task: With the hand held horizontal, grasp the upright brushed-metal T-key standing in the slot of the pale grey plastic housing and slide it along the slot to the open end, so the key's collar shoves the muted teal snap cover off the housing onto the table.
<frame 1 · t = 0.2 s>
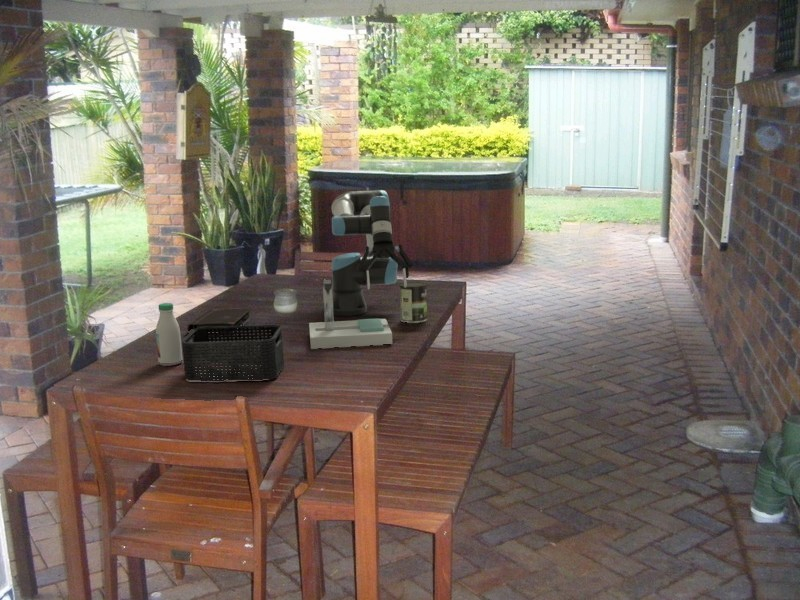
hand: (387, 287, 336), 15 cm above the table, tool tilted 35°, fingers open, 13 cm apart
coffee can: (414, 320, 349), on the table
snap cover: (370, 326, 324), point 4 cm above the table, touching housing
storage bin: (235, 374, 286), on the table
housing: (349, 338, 324), on the table
diary: (222, 328, 348), on the table
t key: (328, 309, 321), point 11 cm above the table, slide at 0.0 cm
milk bottle: (170, 364, 299), on the table
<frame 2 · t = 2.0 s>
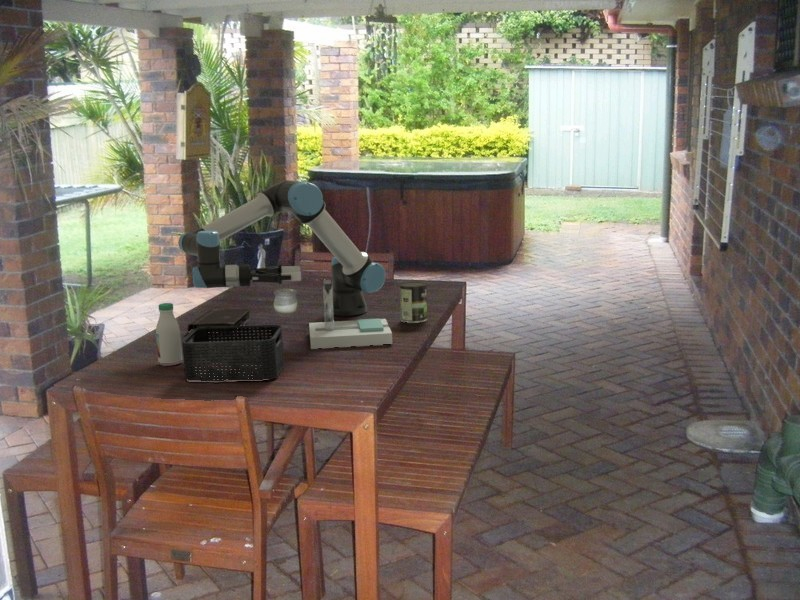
hand: (300, 273, 317), 24 cm above the table, tool horizontal, fingers open, 13 cm apart
nothing on the table moved.
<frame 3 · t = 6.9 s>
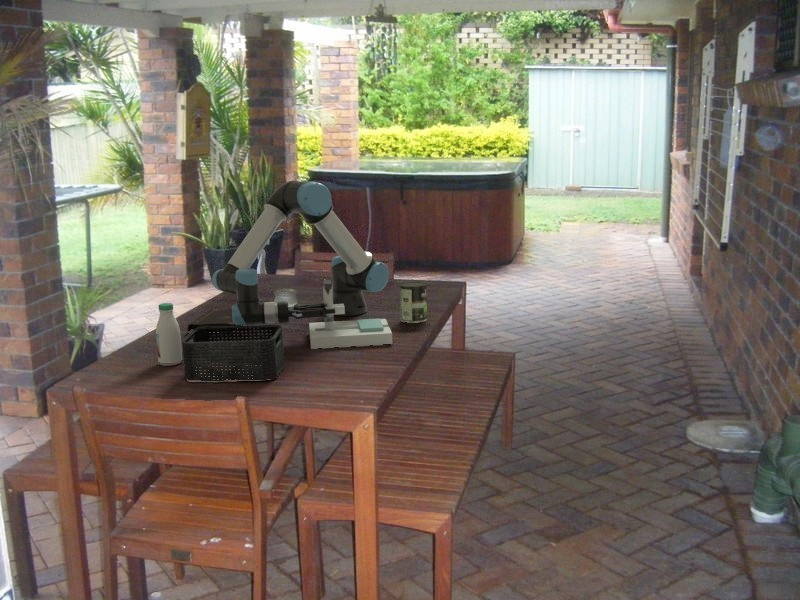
hand: (344, 308, 322), 11 cm above the table, tool horizontal, fingers closed on t key, 3 cm apart
t key: (328, 309, 321), point 11 cm above the table, slide at 0.0 cm, touching gripper
everything else where it was.
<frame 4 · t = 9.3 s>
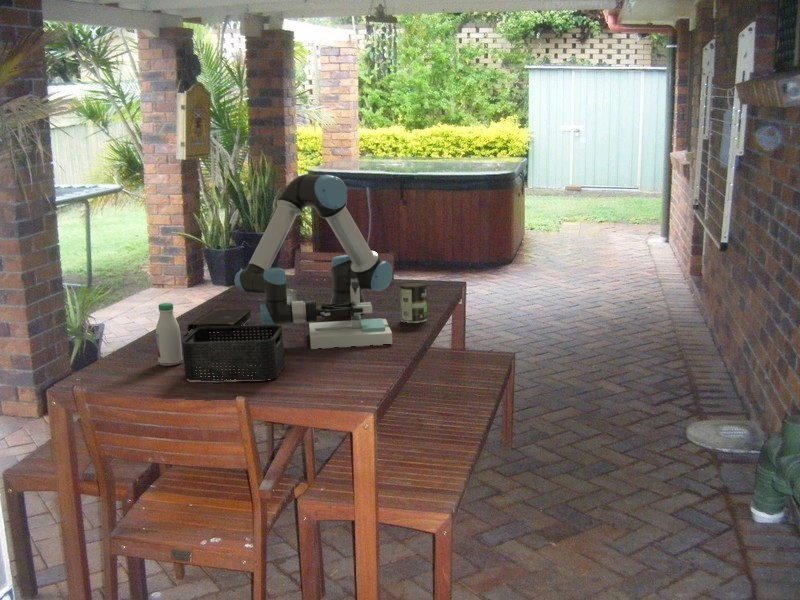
hand: (371, 307, 322), 11 cm above the table, tool horizontal, fingers open, 4 cm apart
snap cover: (372, 326, 324), point 4 cm above the table
t key: (355, 307, 322), point 11 cm above the table, slide at 9.5 cm, touching gripper
everything else where it was.
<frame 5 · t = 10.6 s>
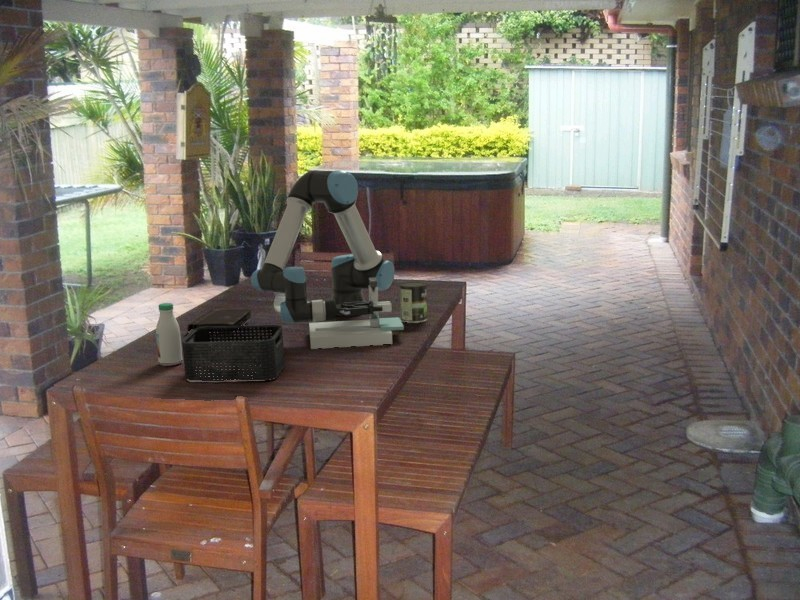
hand: (390, 306, 323), 11 cm above the table, tool horizontal, fingers closed on t key, 3 cm apart
snap cover: (390, 325, 325), point 4 cm above the table, touching t key
t key: (373, 306, 323), point 11 cm above the table, slide at 16.0 cm, touching gripper, snap cover
everything else where it was.
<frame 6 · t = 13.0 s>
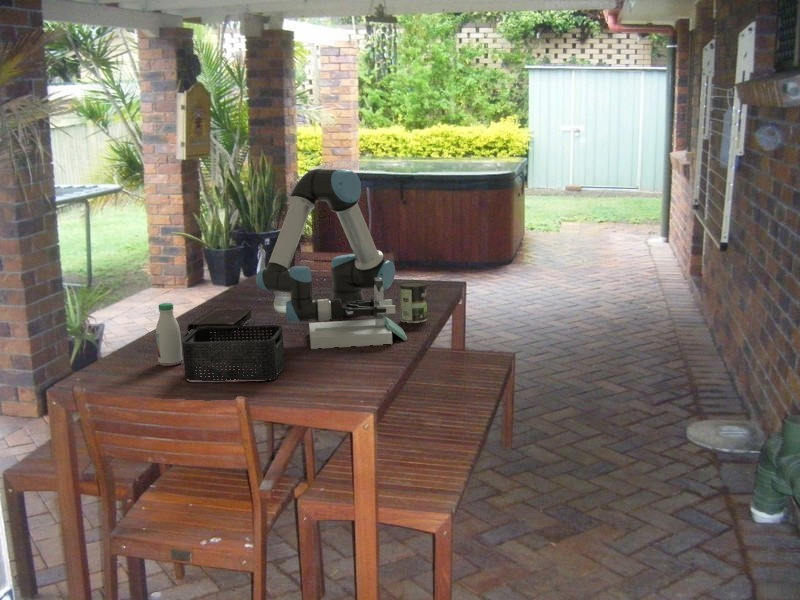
hand: (393, 306, 324), 11 cm above the table, tool horizontal, fingers open, 9 cm apart
snap cover: (394, 329, 325), point 2 cm above the table, tilted 40°, touching housing
t key: (379, 306, 323), point 11 cm above the table, slide at 17.9 cm
everything else where it was.
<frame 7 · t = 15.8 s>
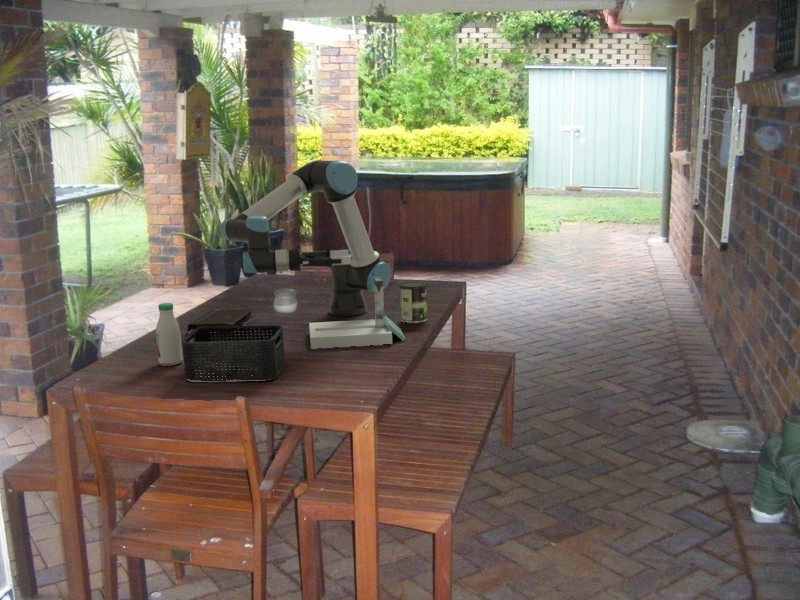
hand: (349, 256, 318), 29 cm above the table, tool horizontal, fingers open, 13 cm apart
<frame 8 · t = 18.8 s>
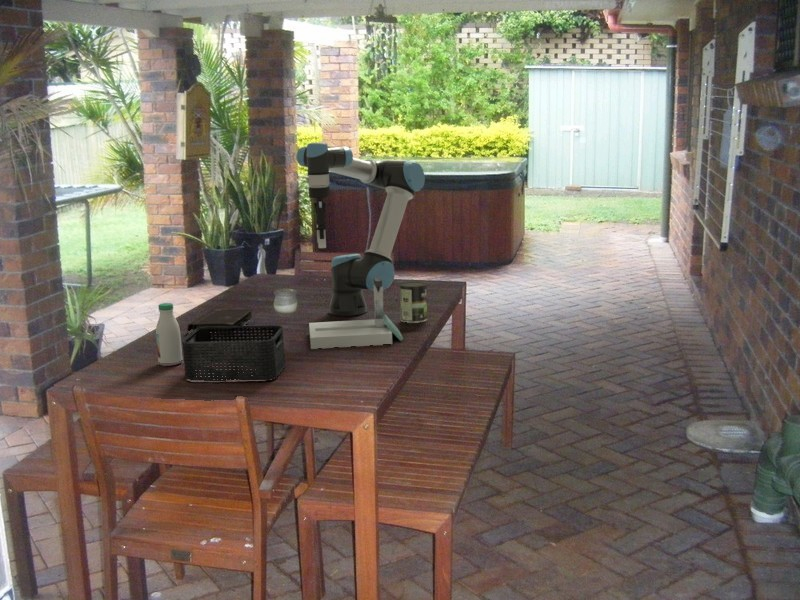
hand: (321, 245, 331), 32 cm above the table, tool pointing down, fingers open, 13 cm apart
snap cover: (391, 328, 325), point 3 cm above the table, tilted 51°, touching housing
everything else where it was.
at the end: t key slide at 17.7 cm; snap cover inside the target area on the table beside the housing (13.7 cm from its centre), point 3.0 cm above the table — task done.
